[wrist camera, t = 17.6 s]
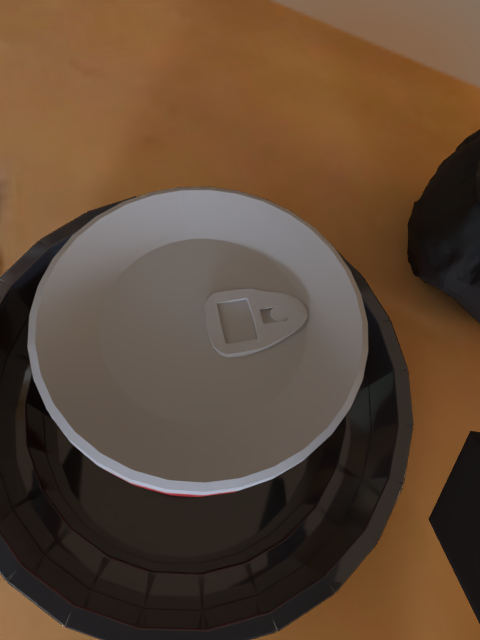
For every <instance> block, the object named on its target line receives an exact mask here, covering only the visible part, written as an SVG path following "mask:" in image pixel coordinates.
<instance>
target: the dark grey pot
mask: <svg viewBox="0 0 480 640" xmlns="http://www.w3.org/2000/svg"><path fill="white" fill-rule="evenodd" d="M407 254H408V262H409V263H410V265H411V268H412V271H413V274H414V275H416V276H419V277H420V278H421V279H422V280H423V281H424V282H426V283H429V284H431V285H433V286H435V287H436V288H438V289H439V290H441V291H443V292H444V293H446V294H448V295H449V296H451V297H453V298H454V299H455V300H456V301H457V302H458V303H459V304H460V305H461V306H462V307H463V308H464V309H465V310H466V311H467V312H468V313H469V314H470V315H471V316H472V317H473V318H475V319H476V320H477V321H478V322H479V323H480V130H478V131H477V132H475V133H473V134H472V135H470V136H469V137H467V138H466V139H465V140H464V141H463V142H462V143H461V144H460V145H459V146H458V147H457V148H456V151H455V152H454V153H452V154H451V155H450V156H449V157H448V158H447V159H445V160H444V161H443V162H442V163H441V165H440V166H439V167H438V169H437V171H436V174H435V175H434V176H433V177H432V178H431V179H430V181H429V183H428V185H427V187H426V188H425V190H424V192H423V194H422V196H421V198H420V199H419V200H418V201H417V202H414V207H413V210H412V214H411V216H410V219H409V222H408V251H407Z"/></svg>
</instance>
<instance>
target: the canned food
mask: <svg viewBox="0 0 480 640" xmlns="http://www.w3.org/2000/svg"><path fill="white" fill-rule="evenodd" d="M27 347H28V352H29V358H30V364H31V369H32V375H33V379H34V382H35V384H36V386H37V389H38V391H39V393H40V395H41V398H42V400H43V402H44V405H45V407H46V409H47V411H48V412H49V413H50V416H51V417H52V418H53V420H54V421H55V422H56V424H57V425H58V426H59V428H60V429H61V430H62V432H63V433H64V434H65V436H66V437H67V438H68V440H69V441H70V442H71V444H73V445H74V446H75V447H76V448H77V449H79V450H80V451H81V452H82V453H83V454H84V455H86V456H87V457H88V458H89V459H90V460H92V461H93V462H94V463H95V464H96V465H98V466H99V467H101V468H103V469H104V470H106V471H108V472H110V473H112V474H113V475H115V476H117V477H119V478H121V479H123V480H125V481H127V482H129V483H131V484H132V485H135V486H138V487H142V488H145V489H149V490H152V491H156V492H160V493H163V494H167V495H170V496H183V497H202V496H210V495H217V494H225V493H232V492H236V491H239V490H242V489H245V488H248V487H251V486H254V485H257V484H259V483H262V482H265V481H268V480H271V479H273V478H275V477H277V476H278V475H280V474H282V473H284V472H285V471H287V470H289V469H290V468H292V467H294V466H295V465H297V464H299V463H300V462H302V461H303V460H304V459H305V458H307V457H308V456H309V455H310V454H311V453H312V452H313V451H314V450H315V449H316V448H317V447H319V446H320V445H321V444H322V443H323V442H324V441H325V440H326V439H327V438H328V437H329V436H331V435H332V434H333V432H334V431H335V429H336V428H337V427H338V425H339V424H340V422H341V421H342V419H343V418H344V417H345V415H346V414H347V412H348V411H349V410H350V408H351V406H352V404H353V401H354V399H355V397H356V394H357V392H358V390H359V387H360V385H361V383H362V380H363V376H364V371H365V366H366V360H367V355H368V321H367V317H366V313H365V308H364V304H363V300H362V295H361V293H360V291H359V289H358V286H357V284H356V282H355V280H354V278H353V275H352V273H351V271H350V269H349V268H348V266H347V265H346V263H345V262H344V261H343V259H342V258H341V256H340V255H339V253H338V252H337V251H336V249H335V248H334V247H333V246H332V245H331V244H330V243H329V242H328V241H327V240H326V239H325V238H324V237H323V236H322V235H321V234H320V233H319V232H318V231H317V230H316V229H315V228H314V227H313V226H311V225H310V224H309V223H307V222H306V221H304V220H303V219H301V218H300V217H299V216H297V215H296V214H294V213H293V212H291V211H289V210H287V209H285V208H283V207H281V206H279V205H277V204H275V203H273V202H271V201H269V200H267V199H264V198H261V197H257V196H254V195H251V194H247V193H244V192H241V191H236V190H229V189H222V188H215V187H178V188H172V189H167V190H161V191H155V192H150V193H147V194H144V195H141V196H138V197H136V198H133V199H130V200H127V201H124V202H122V203H120V204H118V205H116V206H114V207H112V208H111V209H109V210H107V211H105V212H103V213H101V214H100V215H98V216H96V217H95V218H93V219H92V220H91V221H90V222H88V223H87V224H86V225H85V226H83V227H82V228H81V229H80V230H78V231H77V232H76V233H75V234H73V235H72V236H71V238H70V239H69V240H68V241H67V242H66V244H65V245H64V246H63V247H62V248H61V249H60V251H59V252H58V253H57V254H56V255H55V256H54V258H53V259H52V261H51V263H50V264H49V266H48V268H47V270H46V272H45V274H44V275H43V277H42V279H41V281H40V283H39V284H38V287H37V291H36V294H35V297H34V301H33V304H32V308H31V311H30V314H29V329H28V346H27Z"/></svg>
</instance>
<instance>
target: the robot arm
mask: <svg viewBox="0 0 480 640" xmlns="http://www.w3.org/2000/svg"><path fill="white" fill-rule="evenodd" d="M429 521H430V523H431V525H432V527H433V529H434V531H435V534H436V536H437V538H438V540H439V542H440V544H441V546H442V548H443V550H444V552H445V554H446V556H447V558H448V560H449V562H450V564H451V566H452V568H453V570H454V572H455V574H456V576H457V578H458V581H459V583H460V585H461V587H462V589H463V591H464V593H465V595H466V597H467V599H468V601H469V603H470V605H471V607H472V609H473V611H474V613H475V615H476V617H477V619H478V621H479V623H480V432H474V431H470V433H469V435H468V437H467V439H466V441H465V444H464V446H463V448H462V450H461V452H460V454H459V456H458V458H457V460H456V463H455V465H454V467H453V469H452V471H451V473H450V475H449V477H448V479H447V482H446V484H445V486H444V488H443V490H442V492H441V494H440V496H439V498H438V501H437V503H436V505H435V507H434V509H433V511H432V513H431V515H430V517H429Z"/></svg>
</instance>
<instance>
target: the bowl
mask: <svg viewBox="0 0 480 640" xmlns="http://www.w3.org/2000/svg"><path fill="white" fill-rule="evenodd" d="M133 198H136V196H135V197H132V198H129V199H125V200H122V201H119V202H116V203H113V204H110V205H106V206H103V207H100V208H97V209H94V210H91V211H88V212H87V213H84V214H82V215H81V216H79V217H77V218H76V219H74V220H72V221H70V222H69V223H67V224H65V225H64V226H62V227H60V228H59V229H57V230H55V231H53V232H52V233H50V234H48V235H47V236H45V237H43V238H42V239H40V241H38V242H37V243H35V244H34V245H33V246H32V247H31V248H30V249H29V250H28V251H27V252H26V253H25V254H24V255H23V256H22V257H21V258H20V259H19V260H18V261H17V262H16V263H15V264H14V265H13V266H12V267H11V268H10V269H8V270H7V271H6V272H5V273H4V274H3V275H2V276H1V277H0V574H1V575H2V577H3V578H4V580H6V581H7V582H8V584H10V585H11V586H12V587H13V588H15V589H16V590H17V591H19V592H20V593H21V594H22V595H24V596H25V597H26V598H28V599H29V600H30V601H31V602H33V603H34V604H35V605H37V606H38V607H39V608H40V609H42V610H43V611H44V612H46V613H47V614H48V615H49V616H51V617H52V618H53V619H55V620H56V621H57V622H58V623H60V624H61V625H64V626H65V627H66V628H69V629H71V630H74V631H77V632H80V633H83V634H86V635H88V636H91V637H94V638H97V639H100V640H252V639H256V638H259V637H262V636H266V635H269V634H273V633H275V632H276V631H280V630H282V629H283V628H285V627H286V626H288V625H289V624H291V623H292V622H294V621H295V620H297V619H298V618H300V617H301V616H303V615H304V614H306V613H307V612H309V611H310V610H312V609H313V608H315V607H316V606H318V605H319V604H321V603H322V602H324V601H325V600H327V599H328V598H330V597H331V596H333V595H334V594H335V593H336V592H337V591H338V590H339V589H340V588H341V586H342V585H343V584H344V583H345V582H346V580H347V579H348V578H349V577H350V576H351V574H352V573H353V572H354V571H355V570H356V568H357V567H358V566H359V565H360V564H361V563H362V561H363V560H364V559H365V558H366V557H367V555H368V554H369V553H370V552H371V551H372V549H373V548H374V547H375V546H376V545H377V543H378V542H377V541H379V539H380V537H381V535H382V532H383V530H384V528H385V526H386V523H387V521H388V519H389V517H390V515H391V512H392V510H393V508H394V506H395V503H396V501H397V499H398V497H399V495H400V492H401V490H402V488H403V485H402V484H404V481H405V475H406V468H407V462H408V456H409V450H410V443H411V437H412V431H413V427H412V426H413V415H412V405H411V394H410V383H409V373H408V368H407V365H406V363H405V360H404V357H403V354H402V351H401V348H400V345H399V343H398V340H397V337H396V334H395V331H394V328H393V325H392V322H391V320H390V318H389V316H388V315H387V313H386V312H385V310H384V309H383V307H382V306H381V304H380V302H379V301H378V299H377V298H376V296H375V295H374V293H373V291H372V290H371V288H370V287H369V285H368V284H367V282H366V281H365V279H364V277H362V275H361V274H360V273H359V272H358V271H357V270H356V269H355V268H354V267H353V266H352V265H351V264H350V263H349V262H348V261H347V260H346V259H345V258H344V257H343V256H342V255H341V254H340V253H339V252H338V251H337V250H336V251H337V252H338V253H339V255H340V256H341V258H342V259H343V261H344V262H345V263H346V265H347V266H348V268H349V269H350V271H351V273H352V275H353V278H354V280H355V282H356V284H357V286H358V289H359V291H360V293H361V295H362V300H363V304H364V308H365V313H366V317H367V321H368V355H367V360H366V366H365V371H364V376H363V380H362V383H361V385H360V387H359V390H358V392H357V394H356V397H355V399H354V401H353V404H352V406H351V408H350V410H349V411H348V412H347V414H346V415H345V417H344V418H343V419H342V421H341V422H340V424H339V425H338V427H337V428H336V429H335V431H334V432H333V434H332V435H331V436H329V437H328V438H327V439H326V440H325V441H324V442H323V443H322V444H321V445H320V446H319V447H317V448H316V449H315V450H314V451H313V452H312V453H311V454H310V455H309V456H308V457H307V458H305V459H304V460H303V461H302V462H300V463H299V464H297V465H295V466H294V467H292V468H290V469H289V470H287V471H285V472H284V473H282V474H280V475H278V476H277V477H275V478H273V479H271V480H268V481H265V482H262V483H259V484H257V485H254V486H251V487H248V488H245V489H242V490H239V491H236V492H232V493H225V494H217V495H210V496H202V497H183V496H170V495H167V494H163V493H160V492H156V491H152V490H149V489H145V488H142V487H138V486H135V485H132V484H131V483H129V482H127V481H125V480H123V479H121V478H119V477H117V476H115V475H113V474H112V473H110V472H108V471H106V470H104V469H103V468H101V467H99V466H98V465H96V464H95V463H94V462H93V461H92V460H90V459H89V458H88V457H87V456H86V455H84V454H83V453H82V452H81V451H80V450H79V449H77V448H76V447H75V446H74V445H73V444H71V442H70V441H69V440H68V438H67V437H66V436H65V434H64V433H63V432H62V430H61V429H60V428H59V426H58V425H57V424H56V422H55V421H54V420H53V418H52V417H51V416H50V413H49V412H48V411H47V409H46V407H45V405H44V402H43V400H42V398H41V395H40V393H39V391H38V389H37V386H36V384H35V382H34V379H33V375H32V369H31V364H30V358H29V352H28V347H27V346H28V329H29V314H30V311H31V308H32V304H33V301H34V297H35V294H36V291H37V287H38V284H39V283H40V281H41V279H42V277H43V275H44V274H45V272H46V270H47V268H48V266H49V264H50V263H51V261H52V259H53V258H54V256H55V255H56V254H57V253H58V252H59V251H60V249H61V248H62V247H63V246H64V245H65V244H66V242H67V241H68V240H69V239H70V238H71V236H72V235H73V234H75V233H76V232H77V231H78V230H80V229H81V228H82V227H83V226H85V225H86V224H87V223H88V222H90V221H91V220H92V219H93V218H95V217H96V216H98V215H100V214H101V213H103V212H105V211H107V210H109V209H111V208H112V207H114V206H116V205H118V204H120V203H122V202H124V201H127V200H130V199H133Z"/></svg>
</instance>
